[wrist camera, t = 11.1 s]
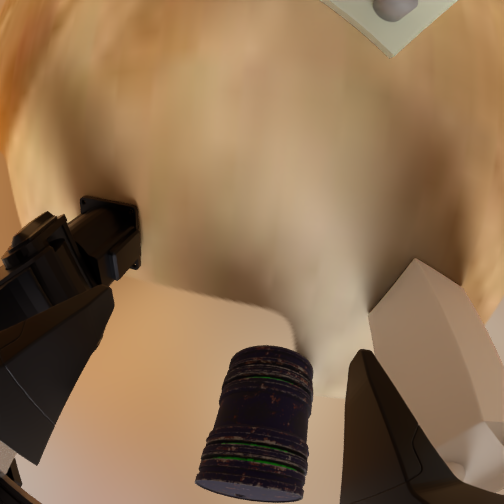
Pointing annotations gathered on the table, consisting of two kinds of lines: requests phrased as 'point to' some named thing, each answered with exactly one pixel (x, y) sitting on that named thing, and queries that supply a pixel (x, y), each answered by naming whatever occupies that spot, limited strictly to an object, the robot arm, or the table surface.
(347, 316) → the table surface
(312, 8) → the table surface
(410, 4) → the peg stand
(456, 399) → the milk carton
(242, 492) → the dark ribbed canister
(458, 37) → the table surface
